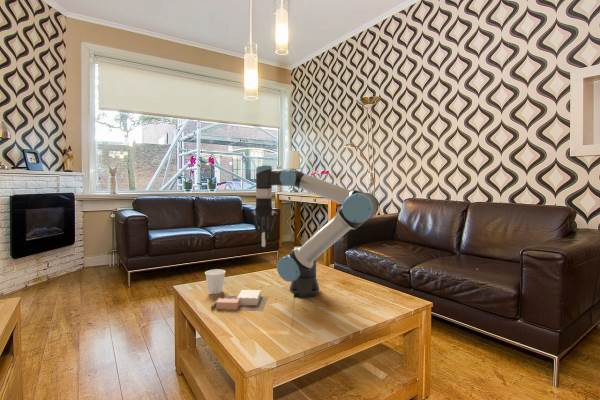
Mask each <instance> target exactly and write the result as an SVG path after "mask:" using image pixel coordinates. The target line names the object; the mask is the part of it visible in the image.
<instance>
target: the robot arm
mask: <svg viewBox="0 0 600 400" xmlns="http://www.w3.org/2000/svg"><path fill="white" fill-rule="evenodd" d="M255 171H256V172H255V183H256V184H255V187H256V188H255V197H256V199H255V208H254V210H253V211H250V216H251V217H252V220H253V224H254V229H255V232H257V233H258V234H259V240H261V247H263V248H265V247H266V245H267V244H266V241H267V240H268V239H269V233H270V232H272V230H273V228H274V227H273V226H274V223H275V220H276V219H275V218H276V216H277V214H278V212H277V211H274V209H273V207H272V202H273V200H272V199H273V198H272V197H273V194H272V192H273V191H272V190H273V189H272V188H273V187H272V186H278V187H279V186H280V187H281V186H283V187H289V186H292V187H296V188H298V189H301V190H304V191H305V192H309V193H311V194H314V195H317V196H319V197H322V198H324V199H327V200H329V201H332V202H334V203H337V204H340V206H339V207H338V208H337V210H336V211H337V212H336V214H335V215H334V216H333V217H332V218H331V219H330V220H329V221H328V222H326V224H324V225H323V226H322V227H321V228H320V229H319V230H318V231H317V232H315V233H314V234H313V235H312V236H311V237H310V238H308V240H307V241H306V242H305V243H303V244H302V245H301V246H294V247H293V249H292V250H290V252H288V253H287V254H286V255H284V256H282V257H280V258H279V259H278V261H277V263H276V271H277V273H278V276H279V277H280V278H281V279H282V280H283V281H285V282H290V285H289V292H290V293H291V294H293V296H294V297H297V298H312V296H313V297H316V296H318V295H320V286H319V282H318V279H317V259H318V258H319V257H320V256H321V255H322V254H323V253H324V252H326V251H327V250H328V249H330V247H332V246H333V245H334V244H335V243H337V241H339V240H340V239H341V238H342V237H344V235H345V234H347V233H348V232H350V231H351V230H357V229H358V228H359V227H361V226H362V225H363V224H364V223H366V221H368V220H369V219H372V218H374V217H375V215H377V213H378V211H379V208H380V207H379V200H378V199H377V198H376V196H374V195H373V194H371V193H368V192H365V191H364V192H363V191H360V190H357V189H353V190H351V189H347V188H344V187H342V186H339V185H336V184H334V183H330V182H329V181H325V180H323V179H320V178H317V177H315V176H312V175H308V174H306V173H303V172H302V171H299V170H293V169H289V168H286V169H284V168H283V169H273V167H272V165H266V164H265V165H263V164H262V165H257V166H256V169H255ZM256 214H257V215H258V219H259V220H257V215H256ZM270 215H271V219H270V223H269V216H270ZM263 220H264V221H263ZM258 221H259V224H258ZM263 223H264V224H263ZM263 225H264V226H263ZM263 228H264V231H263ZM317 294H318V295H317ZM315 295H316V296H315Z"/></svg>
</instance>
